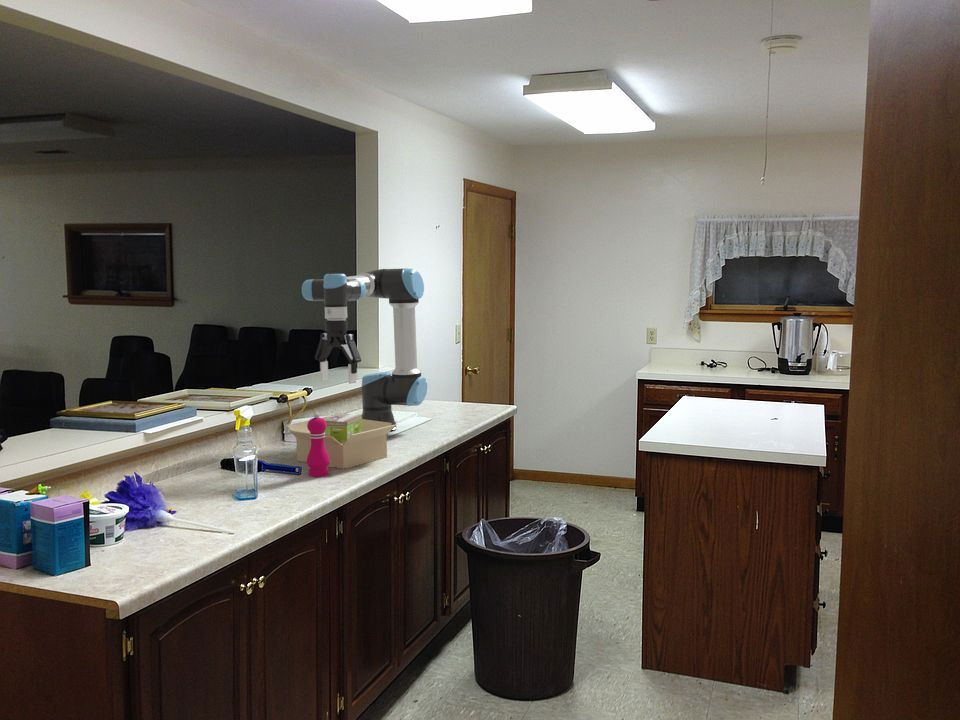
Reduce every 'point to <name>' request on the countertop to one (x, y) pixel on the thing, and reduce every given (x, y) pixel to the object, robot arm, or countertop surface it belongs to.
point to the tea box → (343, 426)
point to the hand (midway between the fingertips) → (338, 381)
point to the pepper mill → (317, 448)
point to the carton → (347, 444)
